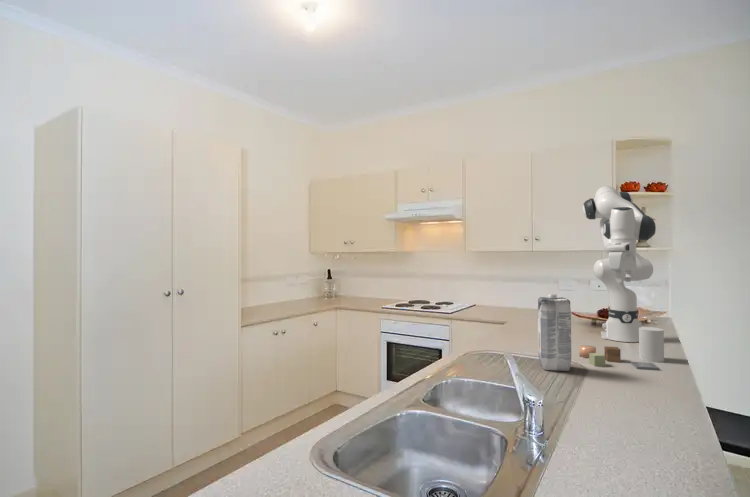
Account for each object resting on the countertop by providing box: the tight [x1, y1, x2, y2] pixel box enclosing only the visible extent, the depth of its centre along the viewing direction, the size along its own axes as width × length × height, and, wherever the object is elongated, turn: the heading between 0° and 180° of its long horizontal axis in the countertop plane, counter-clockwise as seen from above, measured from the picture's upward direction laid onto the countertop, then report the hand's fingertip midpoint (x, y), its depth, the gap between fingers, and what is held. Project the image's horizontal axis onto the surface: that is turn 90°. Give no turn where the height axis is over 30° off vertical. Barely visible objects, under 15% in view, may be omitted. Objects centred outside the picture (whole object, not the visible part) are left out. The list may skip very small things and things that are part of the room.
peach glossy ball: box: [578, 344, 597, 359], centre depth 169 cm, size 6×6×4 cm
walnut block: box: [603, 345, 622, 363], centre depth 163 cm, size 4×4×5 cm
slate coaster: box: [630, 361, 660, 371], centre depth 154 cm, size 7×7×1 cm
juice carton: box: [537, 293, 572, 372], centre depth 153 cm, size 9×10×27 cm
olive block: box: [588, 352, 606, 367], centre depth 157 cm, size 4×4×4 cm
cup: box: [638, 326, 665, 363], centre depth 164 cm, size 8×8×12 cm
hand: (624, 282), depth 166 cm, fingers open, 8 cm apart
